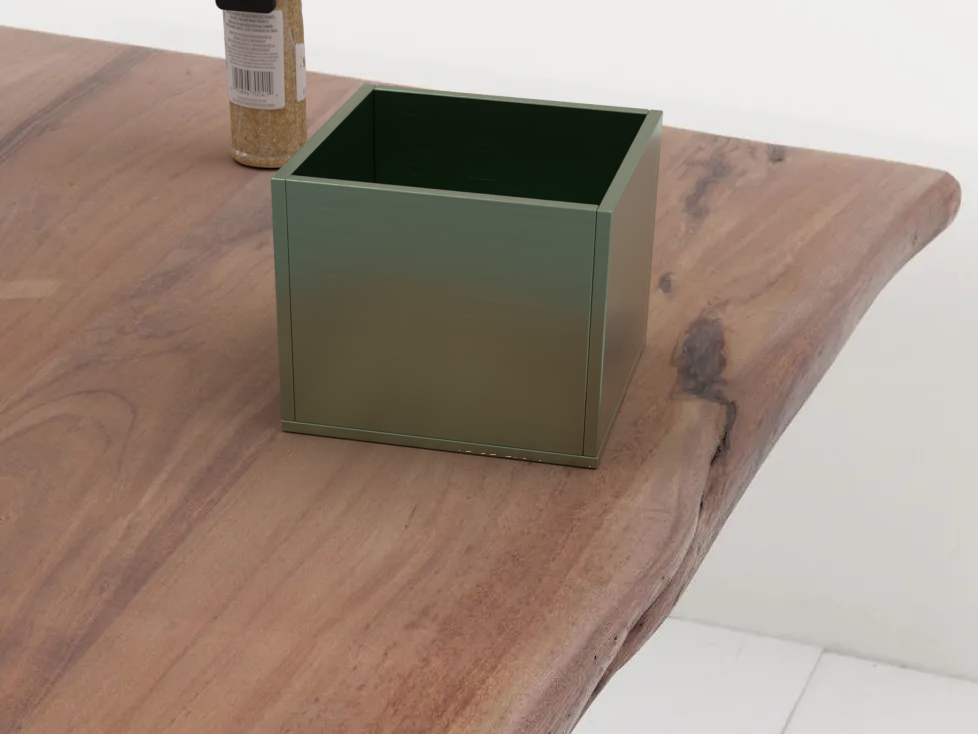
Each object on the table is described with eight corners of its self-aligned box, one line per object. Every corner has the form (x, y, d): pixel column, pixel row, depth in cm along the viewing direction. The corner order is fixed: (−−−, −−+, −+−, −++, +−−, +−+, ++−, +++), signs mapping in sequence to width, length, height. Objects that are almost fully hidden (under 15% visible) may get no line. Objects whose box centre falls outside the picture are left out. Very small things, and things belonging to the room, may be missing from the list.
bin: (281, 431, 78) (269, 177, 72) (367, 312, 88) (363, 83, 82) (596, 469, 76) (612, 211, 70) (646, 343, 86) (663, 110, 80)
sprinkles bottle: (326, 156, 107) (319, -101, 99) (273, 176, 104) (262, -87, 96) (265, 140, 109) (254, -113, 101) (211, 159, 106) (195, -100, 98)
